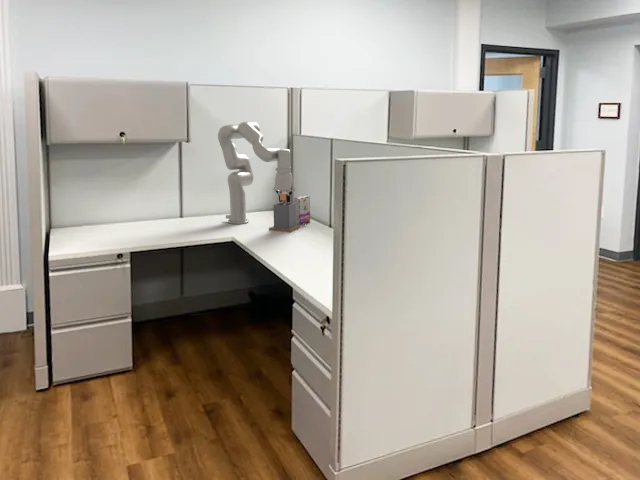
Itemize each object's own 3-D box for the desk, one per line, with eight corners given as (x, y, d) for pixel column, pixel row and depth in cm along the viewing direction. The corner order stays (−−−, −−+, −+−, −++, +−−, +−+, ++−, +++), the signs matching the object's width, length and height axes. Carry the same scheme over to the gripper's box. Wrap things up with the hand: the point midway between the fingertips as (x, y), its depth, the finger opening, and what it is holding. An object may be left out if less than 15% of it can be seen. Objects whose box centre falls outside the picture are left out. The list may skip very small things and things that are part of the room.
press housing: (269, 230, 350) (268, 205, 347) (279, 226, 363) (279, 201, 359) (290, 232, 345) (290, 206, 341) (300, 227, 357) (300, 202, 354)
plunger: (276, 226, 351) (275, 193, 347) (282, 224, 358) (281, 191, 354) (288, 227, 349) (287, 194, 344) (293, 225, 355) (292, 192, 351)
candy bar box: (303, 221, 377) (303, 195, 373) (310, 222, 374) (310, 196, 371) (293, 224, 368) (292, 197, 364) (299, 225, 365) (299, 198, 362)
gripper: (268, 170, 346) (268, 202, 350) (294, 172, 340) (295, 203, 344) (274, 169, 353) (274, 200, 357) (299, 170, 346) (300, 201, 350)
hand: (284, 201), depth 350 cm, fingers closed on plunger, 4 cm apart
